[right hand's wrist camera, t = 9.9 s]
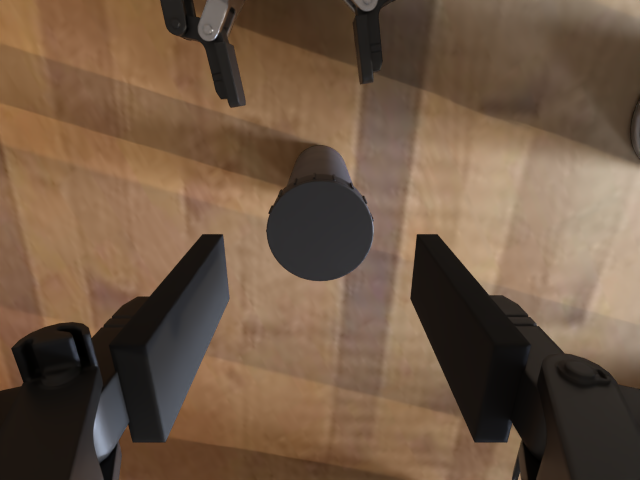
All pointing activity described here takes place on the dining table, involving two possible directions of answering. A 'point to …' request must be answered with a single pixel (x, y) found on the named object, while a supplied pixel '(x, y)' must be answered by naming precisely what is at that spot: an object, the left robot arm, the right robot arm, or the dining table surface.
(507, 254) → the dining table surface
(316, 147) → the bottle
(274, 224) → the lid
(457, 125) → the dining table surface
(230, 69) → the left robot arm
